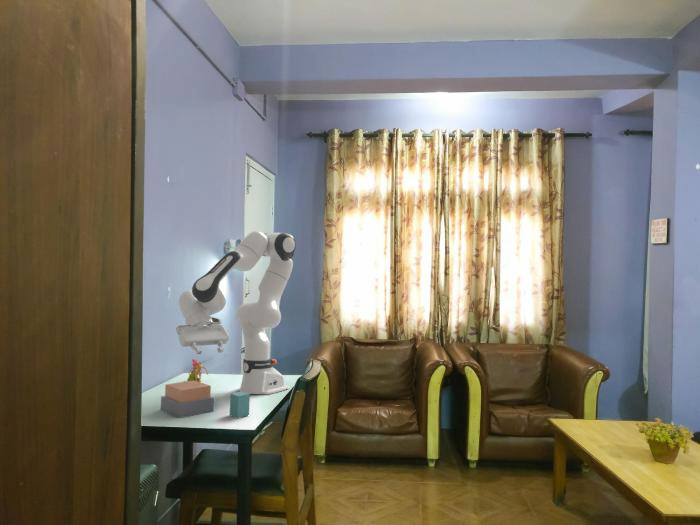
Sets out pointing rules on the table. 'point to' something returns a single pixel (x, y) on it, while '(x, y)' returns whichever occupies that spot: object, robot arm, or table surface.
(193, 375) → the bird rattle
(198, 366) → the figurine
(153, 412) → the table surface
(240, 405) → the teal brick
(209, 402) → the brick tower
